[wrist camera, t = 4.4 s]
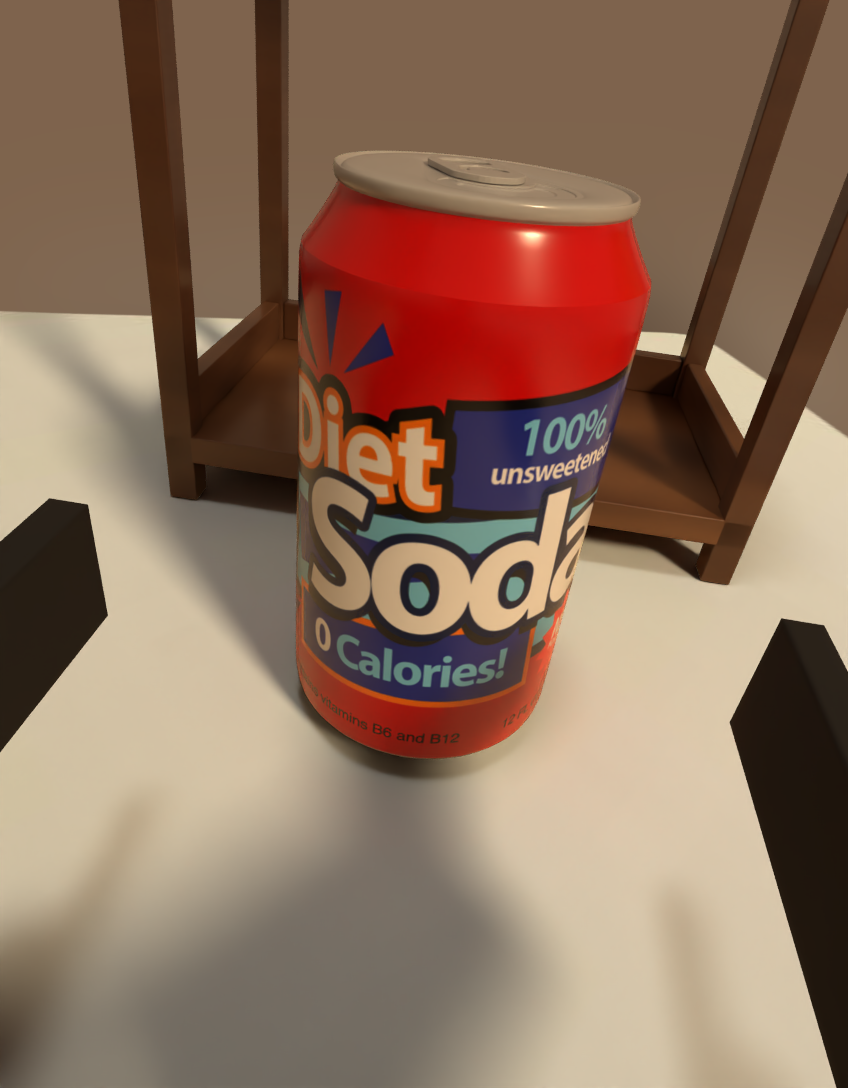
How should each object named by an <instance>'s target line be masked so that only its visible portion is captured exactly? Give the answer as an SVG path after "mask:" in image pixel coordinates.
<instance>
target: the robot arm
mask: <svg viewBox="0 0 848 1088" xmlns="http://www.w3.org/2000/svg"><path fill="white" fill-rule="evenodd" d="M107 616H108V614H107V608H106V602H105V597H104V591H103V586H102V580H101V575H100V569H99V564H98V558H97V553H96V547H95V542H94V536H93V531H92V525H91V519H90V514H89V508H88V505H87V504H81V503H74V502H68V501H62V500H56V499H50V498H49V499H48V500H47V501H46V502H45V503H44V504H42V505H41V506H40V507H39V508H38V509H37V510H36V511H35V512H33V513H32V514H31V515H30V516H29V517H28V518H27V519H25V520H24V521H23V522H22V523H21V524H20V525H19V526H17V527H16V528H15V529H14V530H13V531H12V532H11V533H9V534H8V535H7V536H6V537H5V538H4V539H3V540H2V541H0V752H1V750H2V749H3V748H4V747H5V745H6V744H7V743H8V742H9V740H10V739H11V738H12V737H13V735H14V734H15V733H16V731H17V730H18V729H19V728H20V726H21V725H22V724H23V723H24V721H25V720H26V719H27V717H28V716H29V715H30V714H31V712H32V711H33V710H34V709H35V707H36V706H37V705H38V703H39V702H40V701H41V700H42V698H43V697H44V696H45V695H46V693H47V692H48V691H49V689H50V688H51V687H52V686H53V684H54V683H55V682H56V681H57V679H58V678H59V677H60V676H61V674H62V673H63V672H64V670H65V669H66V668H67V667H68V665H69V664H70V663H71V662H72V660H73V659H74V658H75V656H76V655H77V654H78V653H79V651H80V650H81V649H82V648H83V646H84V645H85V644H86V642H87V641H88V640H89V639H90V637H91V636H92V635H93V634H94V632H95V631H96V630H97V628H98V627H99V626H100V625H101V623H102V622H103V621H104V620H105V618H106V617H107ZM730 725H731V728H732V732H733V735H734V739H735V742H736V745H737V749H738V752H739V756H740V759H741V763H742V766H743V769H744V773H745V776H746V780H747V783H748V786H749V790H750V793H751V797H752V800H753V804H754V807H755V810H756V814H757V817H758V821H759V824H760V828H761V831H762V834H763V838H764V841H765V845H766V848H767V852H768V855H769V858H770V862H771V865H772V869H773V872H774V875H775V879H776V882H777V886H778V889H779V893H780V896H781V899H782V903H783V906H784V910H785V913H786V917H787V920H788V923H789V927H790V930H791V934H792V937H793V941H794V944H795V947H796V951H797V954H798V958H799V961H800V964H801V968H802V971H803V975H804V978H805V982H806V985H807V988H808V992H809V995H810V999H811V1002H812V1006H813V1009H814V1012H815V1016H816V1019H817V1023H818V1026H819V1029H820V1033H821V1036H822V1040H823V1043H824V1047H825V1050H826V1053H827V1057H828V1060H829V1064H830V1067H831V1071H832V1074H833V1077H834V1081H835V1084H836V1088H848V671H847V669H846V667H845V665H844V663H843V661H842V659H841V658H840V656H839V654H838V652H837V650H836V648H835V646H834V644H833V642H832V640H831V638H830V636H829V634H828V632H827V630H826V628H825V626H824V625H818V624H812V623H806V622H800V621H793V620H787V619H781V620H780V623H779V625H778V627H777V629H776V631H775V633H774V635H773V637H772V639H771V641H770V643H769V645H768V647H767V649H766V651H765V653H764V655H763V657H762V659H761V661H760V663H759V665H758V667H757V669H756V671H755V673H754V675H753V677H752V679H751V681H750V683H749V685H748V687H747V689H746V691H745V693H744V695H743V697H742V699H741V701H740V703H739V705H738V707H737V709H736V711H735V713H734V715H733V717H732V719H731V721H730Z"/></svg>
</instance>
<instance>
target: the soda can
mask: <svg viewBox="0 0 848 1088" xmlns="http://www.w3.org/2000/svg"><path fill="white" fill-rule="evenodd" d="M333 169H334V174H335V176H336V178H337V179H338V181H337V183H336V186H335V187H334V189H333V191H332V192H331V194H330V196H329V197H328V199H327V200H326V202H325V203H324V205H323V207H322V208H321V210H320V211H319V213H318V214H317V216H316V217H315V219H314V220H313V221H312V223H311V224H310V226H309V227H308V229H307V230H306V231H305V233H304V234H303V235H302V239H301V244H300V250H299V285H298V288H299V289H298V299H299V300H298V423H297V562H296V661H297V668H298V674H299V679H300V682H301V685H302V688H303V690H304V692H305V694H306V696H307V698H308V700H309V701H310V703H311V704H312V705H313V707H314V708H315V709H316V710H317V712H318V713H319V714H320V715H321V716H322V717H323V718H324V719H325V720H326V721H327V722H328V723H330V724H331V725H332V726H333V727H334V728H336V729H337V730H338V731H340V732H341V733H343V734H344V735H346V736H347V737H349V738H351V739H352V740H354V741H356V742H358V743H360V744H363V745H365V746H367V747H370V748H372V749H375V750H378V751H381V752H384V753H388V754H392V755H396V756H402V757H408V758H417V759H444V758H453V757H459V756H464V755H468V754H472V753H475V752H479V751H481V750H484V749H486V748H489V747H491V746H493V745H495V744H497V743H499V742H501V741H502V740H504V739H506V738H507V737H509V736H510V735H511V734H513V733H514V732H515V731H516V730H517V729H519V728H520V727H521V726H522V725H523V723H524V722H525V721H526V720H527V719H528V717H529V716H530V714H531V713H532V711H533V709H534V707H535V705H536V703H537V701H538V699H539V696H540V694H541V691H542V687H543V684H544V681H545V678H546V674H547V671H548V667H549V663H550V660H551V656H552V653H553V649H554V645H555V642H556V638H557V634H558V631H559V627H560V624H561V620H562V616H563V613H564V609H565V605H566V602H567V598H568V595H569V591H570V587H571V584H572V580H573V576H574V573H575V569H576V566H577V562H578V558H579V555H580V551H581V548H582V544H583V540H584V537H585V533H586V529H587V526H588V522H589V519H590V515H591V511H592V508H593V504H594V500H595V497H596V493H597V490H598V486H599V482H600V479H601V475H602V471H603V468H604V464H605V461H606V457H607V453H608V450H609V446H610V442H611V439H612V435H613V432H614V428H615V424H616V421H617V417H618V413H619V410H620V406H621V403H622V399H623V395H624V392H625V388H626V384H627V381H628V377H629V374H630V370H631V366H632V363H633V359H634V355H635V352H636V348H637V345H638V341H639V337H640V334H641V330H642V326H643V323H644V318H645V314H646V311H647V307H648V303H649V299H650V292H651V279H650V277H649V274H648V272H647V269H646V266H645V263H644V260H643V257H642V254H641V251H640V248H639V245H638V242H637V239H636V236H635V232H634V228H633V224H632V217H634V216H635V215H636V214H637V212H638V210H639V207H640V204H641V198H640V196H639V195H638V194H637V193H635V192H633V191H631V190H629V189H627V188H625V187H622V186H619V185H617V184H613V183H610V182H607V181H604V180H600V179H596V178H593V177H588V176H584V175H580V174H576V173H571V172H566V171H561V170H557V169H551V168H545V167H540V166H534V165H528V164H523V163H516V162H509V161H502V160H495V159H487V158H479V157H470V156H462V155H451V154H440V153H427V152H410V151H361V152H351V153H345V154H342V155H339V156H337V157H336V158H335V159H334V165H333Z"/></svg>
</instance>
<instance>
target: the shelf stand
mask: <svg viewBox="0 0 848 1088" xmlns="http://www.w3.org/2000/svg"><path fill="white" fill-rule="evenodd" d="M828 3H829V0H792V1H791V4H790V7H789V10H788V14H787V17H786V20H785V23H784V26H783V30H782V33H781V36H780V39H779V42H778V45H777V48H776V52H775V55H774V58H773V62H772V65H771V68H770V71H769V74H768V77H767V80H766V84H765V87H764V90H763V93H762V96H761V100H760V103H759V106H758V109H757V113H756V116H755V119H754V122H753V125H752V128H751V132H750V135H749V138H748V141H747V144H746V148H745V151H744V154H743V157H742V160H741V163H740V167H739V170H738V173H737V177H736V179H735V183H734V186H733V189H732V192H731V195H730V199H729V202H728V205H727V208H726V211H725V215H724V218H723V221H722V224H721V228H720V231H719V234H718V237H717V240H716V244H715V247H714V250H713V253H712V256H711V259H710V263H709V266H708V269H707V272H706V275H705V279H704V282H703V285H702V288H701V291H700V294H699V298H698V301H697V304H696V307H695V311H694V314H693V317H692V320H691V323H690V326H689V330H688V333H687V336H686V339H685V342H684V346H683V349H682V352H681V355H680V356H676V355H669V354H662V353H655V352H648V351H641V350H636V352H635V355H634V359H633V363H632V366H631V370H630V374H629V377H628V381H627V384H626V388H625V392H624V395H623V399H622V403H621V406H620V410H619V413H618V417H617V421H616V424H615V428H614V432H613V435H612V439H611V442H610V446H609V450H608V453H607V457H606V461H605V464H604V468H603V471H602V475H601V479H600V482H599V486H598V490H597V493H596V497H595V500H594V504H593V508H592V511H591V515H590V519H589V522H588V525H591V526H598V527H604V528H611V529H617V530H623V531H630V532H636V533H642V534H649V535H655V536H661V537H668V538H674V539H681V540H687V541H693V542H700V543H704V544H703V546H702V549H701V551H700V554H699V556H698V559H697V562H696V564H695V565H696V568H697V571H698V574H699V577H700V580H702V581H708V582H714V583H720V584H726V585H728V584H729V582H730V580H731V578H732V575H733V573H734V571H735V568H736V566H737V564H738V561H739V559H740V557H741V555H742V552H743V550H744V548H745V545H746V543H747V541H748V538H749V536H750V534H751V531H752V529H753V527H754V524H755V522H756V520H757V517H758V515H759V513H760V510H761V508H762V506H763V503H764V501H765V499H766V496H767V494H768V492H769V489H770V487H771V485H772V482H773V480H774V478H775V475H776V473H777V471H778V468H779V466H780V464H781V461H782V459H783V457H784V455H785V452H786V450H787V448H788V445H789V443H790V441H791V438H792V436H793V434H794V431H795V429H796V427H797V424H798V422H799V420H800V417H801V415H802V413H803V410H804V408H805V406H806V403H807V401H808V399H809V396H810V394H811V392H812V389H813V387H814V385H815V382H816V380H817V378H818V375H819V373H820V371H821V368H822V366H823V364H824V361H825V359H826V357H827V354H828V352H829V350H830V348H831V345H832V343H833V341H834V338H835V336H836V334H837V331H838V329H839V326H840V324H841V322H842V319H843V317H844V315H845V312H846V310H847V308H848V174H847V177H846V180H845V182H844V185H843V188H842V190H841V192H840V195H839V198H838V200H837V203H836V205H835V208H834V210H833V213H832V215H831V218H830V221H829V223H828V226H827V228H826V231H825V234H824V236H823V239H822V241H821V244H820V246H819V249H818V251H817V254H816V256H815V259H814V262H813V264H812V267H811V269H810V272H809V274H808V277H807V280H806V282H805V285H804V287H803V290H802V292H801V295H800V297H799V300H798V303H797V306H796V308H795V310H794V313H793V315H792V318H791V320H790V323H789V326H788V328H787V331H786V333H785V336H784V339H783V341H782V344H781V346H780V349H779V351H778V354H777V357H776V359H775V362H774V364H773V367H772V369H771V372H770V374H769V377H768V379H767V382H766V385H765V387H764V390H763V392H762V395H761V397H760V400H759V403H758V405H757V408H756V410H755V413H754V415H753V418H752V420H751V423H750V426H749V428H748V431H747V433H746V436H745V438H743V436H742V434H741V433H740V431H739V429H738V427H737V426H736V424H735V422H734V420H733V418H732V417H731V415H730V413H729V411H728V410H727V408H726V406H725V404H724V403H723V401H722V399H721V397H720V395H719V394H718V392H717V390H716V388H715V387H714V385H713V383H712V381H711V380H710V378H709V376H708V374H707V372H706V371H705V368H706V365H707V362H708V360H709V357H710V354H711V351H712V348H713V345H714V342H715V339H716V336H717V332H718V330H719V327H720V324H721V321H722V318H723V315H724V312H725V309H726V306H727V303H728V300H729V297H730V294H731V291H732V288H733V285H734V282H735V279H736V276H737V273H738V270H739V267H740V264H741V261H742V258H743V255H744V252H745V250H746V246H747V243H748V240H749V238H750V234H751V232H752V229H753V226H754V223H755V220H756V217H757V214H758V211H759V208H760V205H761V202H762V199H763V196H764V193H765V190H766V187H767V184H768V181H769V178H770V175H771V172H772V169H773V166H774V163H775V160H776V157H777V154H778V152H779V149H780V146H781V142H782V140H783V137H784V134H785V130H786V128H787V125H788V122H789V119H790V116H791V113H792V110H793V107H794V104H795V101H796V98H797V95H798V92H799V89H800V86H801V83H802V80H803V77H804V74H805V71H806V68H807V65H808V62H809V59H810V56H811V53H812V50H813V48H814V45H815V42H816V38H817V35H818V33H819V30H820V26H821V24H822V20H823V18H824V15H825V12H826V9H827V6H828ZM119 8H120V18H121V27H122V35H123V36H122V37H123V46H124V55H125V65H126V75H127V84H128V94H129V103H130V113H131V122H132V132H133V141H134V150H135V159H136V160H135V161H136V170H137V179H138V189H139V198H140V208H141V218H142V227H143V237H144V246H145V255H146V265H147V275H148V284H149V294H150V303H151V312H152V323H153V332H154V342H155V351H156V361H157V370H158V380H159V389H160V399H161V408H162V418H163V427H164V437H165V446H166V456H167V465H168V475H169V484H170V494H171V496H175V497H181V498H188V499H194V500H197V499H198V498H199V496H200V495H201V494H202V493H203V491H204V490H205V489H206V487H207V482H206V468H205V465H210V466H216V467H222V468H229V469H235V470H241V471H248V472H254V473H260V474H267V475H273V476H280V477H286V478H292V479H297V423H298V301H297V300H289V299H288V0H255V32H256V81H257V130H258V179H259V223H260V224H259V229H260V275H261V277H260V278H261V305H260V306H258V307H257V308H256V309H255V310H254V311H253V312H252V313H250V314H249V315H248V316H247V317H246V318H245V319H243V320H242V321H241V322H240V323H239V324H238V325H237V326H235V327H234V328H233V329H232V330H231V331H230V332H228V333H227V334H226V335H225V336H224V337H223V338H221V339H220V340H219V341H218V342H217V343H216V344H215V345H213V346H212V347H211V348H210V349H209V350H208V351H206V352H205V353H204V354H203V355H202V356H201V357H200V358H198V357H197V343H196V329H195V316H194V302H193V288H192V275H191V260H190V247H189V232H188V218H187V206H186V191H185V177H184V163H183V149H182V135H181V121H180V107H179V94H178V81H177V80H178V79H177V67H176V53H175V38H174V25H173V10H172V0H119Z"/></svg>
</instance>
